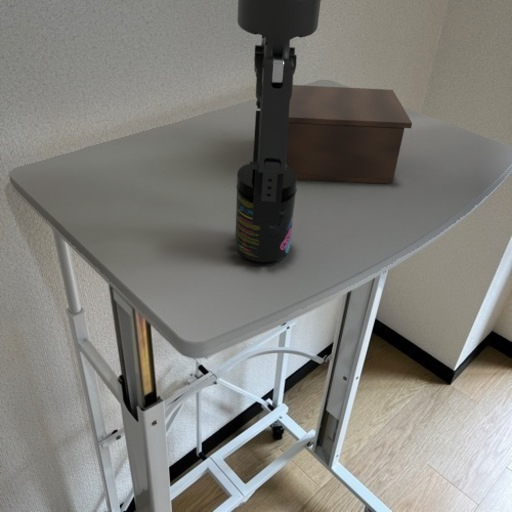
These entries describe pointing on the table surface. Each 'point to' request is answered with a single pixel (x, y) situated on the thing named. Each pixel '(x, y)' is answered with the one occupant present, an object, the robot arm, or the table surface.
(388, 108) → the lid
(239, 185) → the supplement container
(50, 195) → the table surface
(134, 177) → the table surface
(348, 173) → the chest
